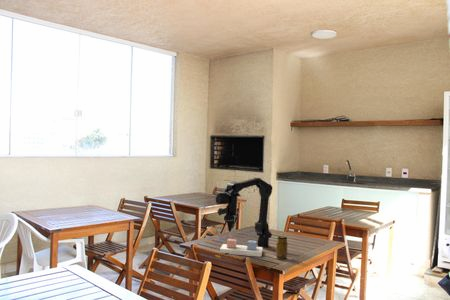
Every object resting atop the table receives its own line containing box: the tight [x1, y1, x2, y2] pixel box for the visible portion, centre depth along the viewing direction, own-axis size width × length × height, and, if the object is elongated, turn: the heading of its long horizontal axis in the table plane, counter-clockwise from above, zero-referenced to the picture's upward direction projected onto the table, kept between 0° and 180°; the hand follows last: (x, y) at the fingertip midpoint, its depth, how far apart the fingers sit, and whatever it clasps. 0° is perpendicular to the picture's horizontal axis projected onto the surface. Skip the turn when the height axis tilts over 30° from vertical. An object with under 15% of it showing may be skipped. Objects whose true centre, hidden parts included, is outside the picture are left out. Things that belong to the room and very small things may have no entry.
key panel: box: [219, 243, 264, 257], centre depth 229 cm, size 24×12×2 cm, turn 81°
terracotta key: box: [226, 238, 238, 248], centre depth 230 cm, size 5×5×4 cm
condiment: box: [272, 235, 293, 261], centre depth 221 cm, size 7×8×12 cm
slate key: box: [246, 239, 258, 250], centre depth 228 cm, size 5×5×4 cm
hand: (230, 229), depth 232 cm, fingers open, 9 cm apart
